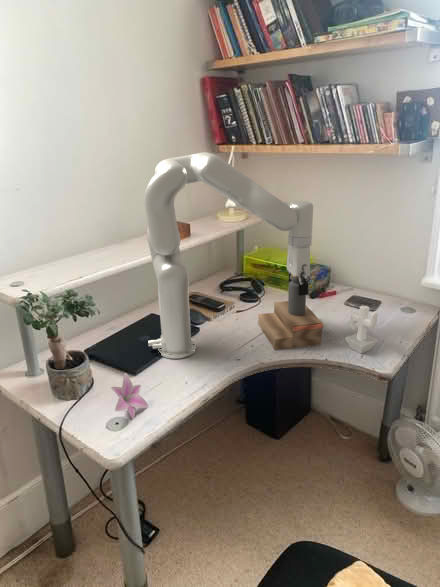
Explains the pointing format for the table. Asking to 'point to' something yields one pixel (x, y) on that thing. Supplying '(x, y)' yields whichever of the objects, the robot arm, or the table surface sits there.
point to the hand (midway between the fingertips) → (297, 289)
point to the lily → (129, 396)
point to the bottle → (295, 297)
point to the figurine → (362, 330)
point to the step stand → (290, 327)
